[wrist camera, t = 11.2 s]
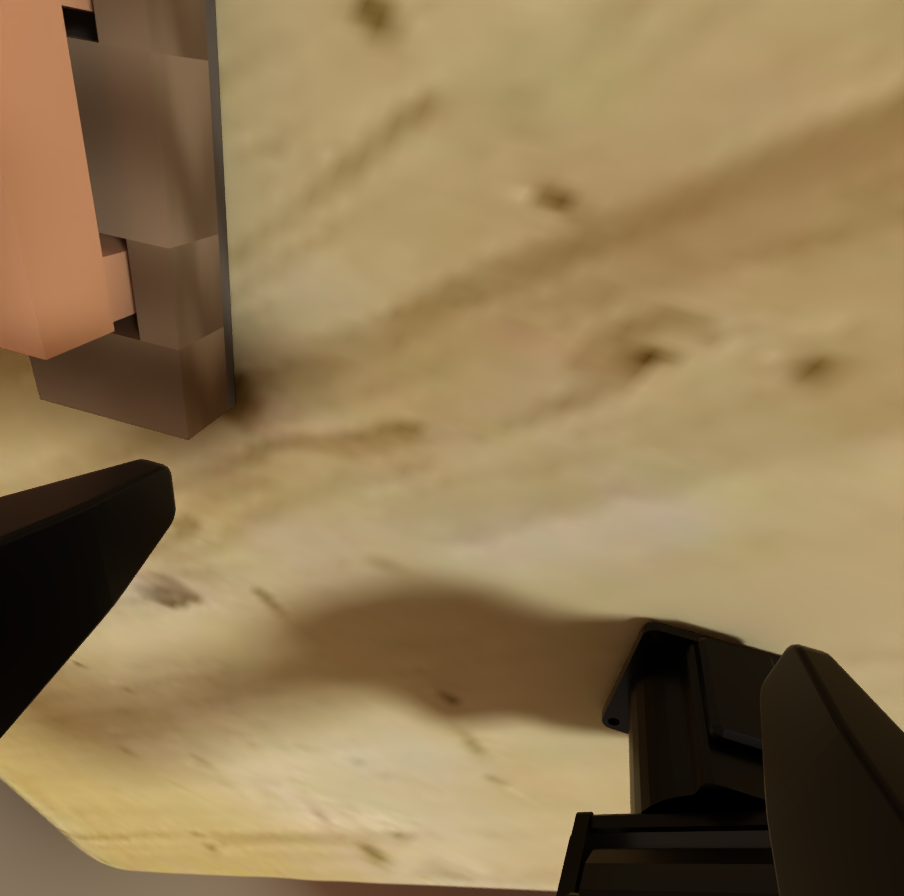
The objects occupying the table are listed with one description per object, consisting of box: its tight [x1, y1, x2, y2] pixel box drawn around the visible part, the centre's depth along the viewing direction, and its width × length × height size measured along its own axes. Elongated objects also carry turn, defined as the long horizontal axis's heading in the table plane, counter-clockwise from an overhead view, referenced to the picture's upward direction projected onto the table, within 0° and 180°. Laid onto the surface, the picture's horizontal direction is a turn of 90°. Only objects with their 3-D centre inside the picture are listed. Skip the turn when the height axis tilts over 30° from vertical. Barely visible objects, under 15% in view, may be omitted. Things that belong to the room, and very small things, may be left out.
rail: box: [30, 0, 236, 440], centre depth 17 cm, size 18×6×3 cm, turn 171°
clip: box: [0, 0, 136, 360], centre depth 16 cm, size 10×3×6 cm, turn 171°
